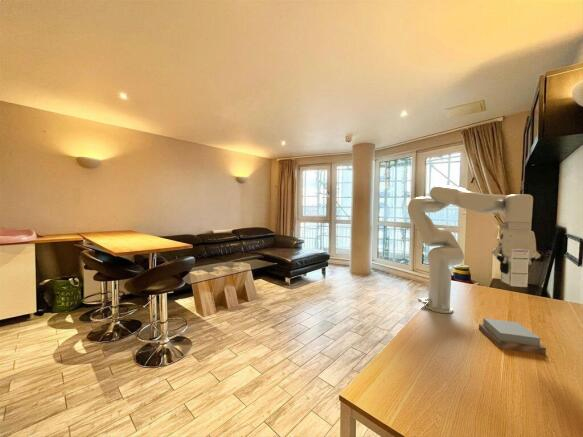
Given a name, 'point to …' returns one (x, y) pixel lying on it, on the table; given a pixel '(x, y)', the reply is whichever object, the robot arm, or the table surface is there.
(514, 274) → the syrup box
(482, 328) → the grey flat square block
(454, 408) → the table surface
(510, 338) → the slate-grey slab
